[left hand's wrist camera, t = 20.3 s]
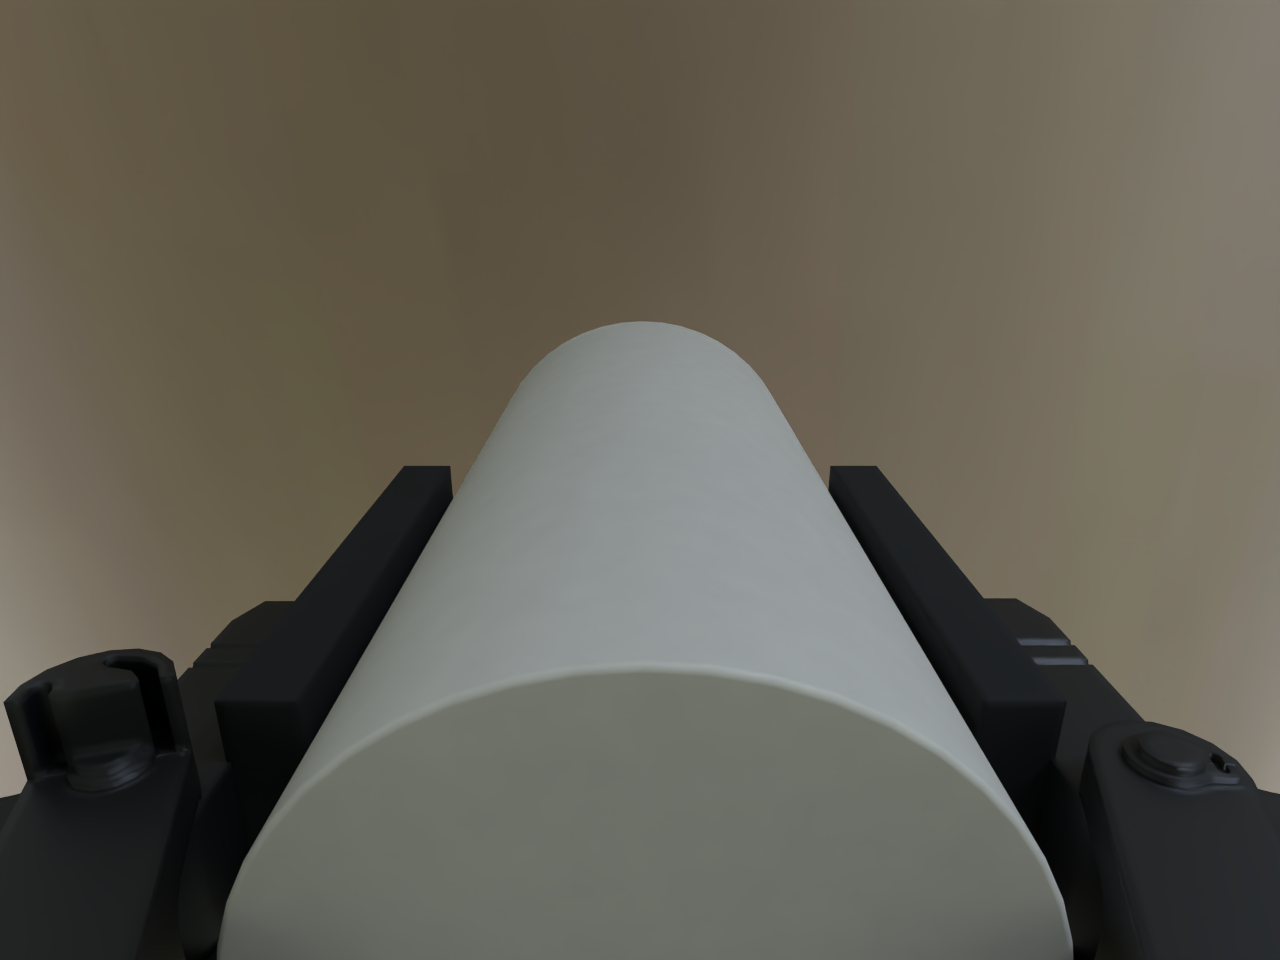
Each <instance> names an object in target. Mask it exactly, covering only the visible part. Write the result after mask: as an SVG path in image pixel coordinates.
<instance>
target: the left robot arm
mask: <svg viewBox="0 0 1280 960" xmlns="http://www.w3.org/2000/svg"><path fill="white" fill-rule="evenodd" d="M829 493H830V495H831V496H832V498H833V500H834V502H835V503H836V505H837V507H838V508H839V510H840V512H841V513H842V515H843V517H844V518H845V520H846V522H847V523H848V525H849V527H850V529H851V530H852V532H853V534H854V535H855V537H856V539H857V540H858V542H859V544H860V545H861V547H862V549H863V551H864V552H865V554H866V556H867V557H868V559H869V561H870V562H871V564H872V566H873V567H874V569H875V571H876V572H877V574H878V576H879V578H880V579H881V581H882V583H883V584H884V586H885V588H886V589H887V591H888V593H889V594H890V596H891V598H892V600H893V601H894V603H895V605H896V606H897V608H898V610H899V611H900V613H901V615H902V616H903V618H904V620H905V621H906V623H907V625H908V627H909V628H910V630H911V632H912V633H913V635H914V637H915V638H916V640H917V642H918V643H919V645H920V647H921V648H922V650H923V652H924V654H925V655H926V657H927V659H928V660H929V662H930V664H931V665H932V667H933V669H934V670H935V672H936V674H937V676H938V677H939V679H940V681H941V682H942V684H943V686H944V687H945V689H946V691H947V692H948V694H949V696H950V697H951V699H952V701H953V703H954V704H955V706H956V708H957V709H958V711H959V713H960V714H961V716H962V718H963V719H964V721H965V723H966V725H967V726H968V728H969V730H970V731H971V733H972V735H973V736H974V738H975V740H976V741H977V743H978V745H979V746H980V748H981V750H982V752H983V753H984V755H985V757H986V758H987V760H988V762H989V763H990V765H991V767H992V768H993V770H994V772H995V773H996V775H997V777H998V779H999V780H1000V782H1001V784H1002V785H1003V787H1004V789H1005V790H1006V792H1007V794H1008V795H1009V797H1010V799H1011V801H1012V802H1013V804H1014V806H1015V807H1016V809H1017V811H1018V812H1019V814H1020V816H1021V817H1022V819H1023V821H1024V822H1025V824H1026V826H1027V828H1028V829H1029V831H1030V833H1031V834H1032V836H1033V838H1034V839H1035V841H1036V843H1037V844H1038V846H1039V848H1040V850H1041V851H1042V853H1043V855H1044V856H1045V858H1046V860H1047V863H1048V865H1049V867H1050V870H1051V872H1052V874H1053V877H1054V879H1055V881H1056V884H1057V886H1058V888H1059V891H1060V893H1061V896H1062V898H1063V901H1064V905H1065V910H1066V914H1067V919H1068V923H1069V928H1070V932H1071V937H1072V941H1073V960H1280V794H1277V793H1272V792H1268V791H1264V790H1260V789H1257V787H1256V785H1255V783H1254V781H1253V779H1252V778H1251V777H1250V776H1249V774H1248V773H1247V772H1246V771H1245V770H1244V768H1243V767H1242V766H1241V765H1240V764H1239V762H1238V761H1237V760H1236V759H1234V758H1233V757H1231V756H1230V755H1228V754H1227V753H1225V752H1224V751H1223V750H1221V749H1220V748H1218V747H1217V746H1215V745H1214V744H1212V743H1210V742H1208V741H1206V740H1204V739H1202V738H1199V737H1197V736H1195V735H1193V734H1190V733H1188V732H1186V731H1184V730H1181V729H1177V728H1173V727H1169V726H1166V725H1162V724H1158V723H1154V722H1146V721H1144V720H1143V719H1142V718H1141V717H1140V715H1139V714H1138V713H1137V712H1136V711H1135V710H1134V709H1133V708H1132V707H1131V706H1130V705H1129V704H1128V702H1127V701H1126V700H1125V699H1124V698H1123V697H1122V696H1121V695H1120V694H1119V693H1118V692H1117V691H1116V689H1115V688H1114V687H1113V686H1112V685H1111V684H1110V683H1109V682H1108V681H1107V680H1106V679H1105V678H1104V676H1103V675H1102V674H1101V673H1100V672H1099V671H1098V670H1097V669H1096V668H1095V667H1094V666H1093V665H1089V664H1088V659H1087V658H1086V657H1085V656H1084V655H1083V654H1082V653H1081V652H1080V650H1079V649H1078V648H1077V647H1076V646H1075V645H1071V643H1070V640H1069V639H1068V637H1067V636H1066V635H1065V634H1064V633H1063V632H1062V631H1061V630H1060V629H1059V628H1058V627H1057V626H1056V624H1055V623H1054V622H1053V621H1052V620H1051V619H1050V618H1049V617H1047V616H1045V615H1044V614H1042V613H1040V612H1038V611H1037V610H1035V609H1033V608H1031V607H1030V606H1028V605H1026V604H1025V603H1023V602H1021V601H1019V600H1018V599H984V598H983V597H982V596H981V594H980V593H979V592H978V591H977V590H976V588H975V587H974V586H973V585H972V583H971V582H970V581H969V580H968V578H967V577H966V576H965V575H964V574H963V572H962V571H961V570H960V569H959V567H958V566H957V565H956V564H955V562H954V561H953V560H952V559H951V557H950V556H949V555H948V554H947V553H946V551H945V550H944V549H943V548H942V546H941V545H940V544H939V543H938V541H937V540H936V539H935V538H934V536H933V535H932V534H931V533H930V532H929V530H928V529H927V528H926V527H925V525H924V524H923V523H922V522H921V520H920V519H919V518H918V517H917V516H916V514H915V513H914V512H913V511H912V509H911V508H910V507H909V506H908V504H907V503H906V502H905V501H904V499H903V498H902V497H901V496H900V495H899V493H898V492H897V491H896V490H895V488H894V487H893V486H892V485H891V483H890V482H889V481H888V480H887V478H886V477H885V476H884V475H883V474H882V472H881V471H880V470H879V469H878V467H877V466H830V478H829ZM452 500H453V494H452V482H451V470H450V466H404V467H403V468H402V470H401V471H400V472H399V473H398V474H397V476H396V477H395V478H394V479H393V481H392V482H391V483H390V484H389V486H388V487H387V488H386V489H385V490H384V492H383V493H382V494H381V495H380V497H379V498H378V499H377V500H376V502H375V503H374V504H373V505H372V507H371V508H370V509H369V510H368V511H367V513H366V514H365V515H364V516H363V518H362V519H361V520H360V521H359V523H358V524H357V525H356V526H355V528H354V529H353V530H352V531H351V532H350V534H349V535H348V536H347V537H346V539H345V540H344V541H343V542H342V544H341V545H340V546H339V547H338V548H337V550H336V551H335V552H334V553H333V555H332V556H331V557H330V558H329V560H328V561H327V562H326V563H325V565H324V566H323V567H322V568H321V569H320V571H319V572H318V573H317V574H316V576H315V577H314V578H313V579H312V581H311V582H310V583H309V584H308V586H307V587H306V588H305V589H304V590H303V592H302V593H301V594H300V595H299V597H298V598H297V599H296V600H295V601H265V602H263V603H261V604H260V605H258V606H256V607H255V608H253V609H251V610H249V611H248V612H246V613H244V614H243V615H241V616H239V617H237V618H236V619H234V620H232V621H231V622H230V623H229V624H228V625H227V627H226V628H225V629H224V630H223V631H222V632H221V633H220V634H219V635H218V636H217V638H216V639H215V640H214V641H213V642H212V643H211V648H206V650H205V651H204V652H203V653H202V654H201V655H200V656H199V657H198V658H197V659H196V660H195V662H194V663H193V668H188V669H187V670H186V671H185V672H184V674H183V675H182V676H181V677H180V678H179V679H178V680H177V676H176V672H175V667H174V663H173V661H172V660H170V659H169V658H168V657H166V656H165V655H163V654H162V653H161V652H155V651H149V650H143V649H125V650H110V651H105V652H101V653H96V654H92V655H88V656H83V657H79V658H76V659H73V660H71V661H68V662H66V663H63V664H60V665H58V666H55V667H53V668H50V669H47V670H45V671H44V672H42V673H40V674H39V675H37V676H35V677H34V678H32V679H30V680H29V681H27V682H25V683H23V684H22V685H20V686H19V687H18V688H17V689H16V690H15V691H14V692H13V693H12V694H11V695H10V696H9V697H8V698H7V699H6V700H5V701H4V706H5V709H6V712H7V715H8V719H9V722H10V725H11V728H12V732H13V735H14V738H15V741H16V744H17V748H18V751H19V754H20V757H21V761H22V764H23V767H24V770H25V773H26V777H27V780H28V781H27V783H26V784H25V786H24V788H23V790H22V792H21V793H20V794H16V795H13V796H8V797H3V798H0V960H217V944H218V939H219V935H220V930H221V925H222V920H223V916H224V911H225V906H226V902H227V900H228V897H229V895H230V892H231V890H232V887H233V885H234V883H235V880H236V878H237V875H238V873H239V870H240V868H241V866H242V863H243V861H244V859H245V857H246V856H247V854H248V852H249V850H250V849H251V847H252V845H253V844H254V842H255V840H256V838H257V837H258V835H259V833H260V831H261V830H262V828H263V826H264V825H265V823H266V821H267V819H268V818H269V816H270V814H271V812H272V811H273V809H274V807H275V806H276V804H277V802H278V800H279V799H280V797H281V795H282V793H283V792H284V790H285V788H286V787H287V785H288V783H289V781H290V780H291V778H292V776H293V774H294V773H295V771H296V769H297V768H298V766H299V764H300V762H301V761H302V759H303V757H304V755H305V754H306V752H307V750H308V749H309V747H310V745H311V743H312V742H313V740H314V738H315V736H316V735H317V733H318V731H319V730H320V728H321V726H322V724H323V723H324V721H325V719H326V717H327V716H328V714H329V712H330V711H331V709H332V707H333V705H334V704H335V702H336V700H337V698H338V697H339V695H340V693H341V692H342V690H343V688H344V686H345V685H346V683H347V681H348V679H349V678H350V676H351V674H352V673H353V671H354V669H355V667H356V666H357V664H358V662H359V660H360V659H361V657H362V655H363V654H364V652H365V650H366V648H367V647H368V645H369V643H370V641H371V640H372V638H373V636H374V635H375V633H376V631H377V629H378V628H379V626H380V624H381V622H382V621H383V619H384V617H385V616H386V614H387V612H388V610H389V609H390V607H391V605H392V603H393V602H394V600H395V598H396V597H397V595H398V593H399V591H400V590H401V588H402V586H403V584H404V583H405V581H406V579H407V578H408V576H409V574H410V572H411V571H412V569H413V567H414V565H415V564H416V562H417V560H418V559H419V557H420V555H421V553H422V552H423V550H424V548H425V546H426V545H427V543H428V541H429V540H430V538H431V536H432V534H433V533H434V531H435V529H436V527H437V526H438V524H439V522H440V521H441V519H442V517H443V515H444V514H445V512H446V510H447V508H448V507H449V505H450V503H451V502H452Z"/></svg>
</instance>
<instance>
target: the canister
mask: <svg viewBox="0 0 1280 960" xmlns="http://www.w3.org/2000/svg"><path fill="white" fill-rule="evenodd" d="M217 960H1073V941H1072V937H1071V932H1070V928H1069V923H1068V919H1067V914H1066V910H1065V905H1064V901H1063V898H1062V896H1061V893H1060V891H1059V888H1058V886H1057V884H1056V881H1055V879H1054V877H1053V874H1052V872H1051V870H1050V867H1049V865H1048V863H1047V860H1046V858H1045V856H1044V855H1043V853H1042V851H1041V850H1040V848H1039V846H1038V844H1037V843H1036V841H1035V839H1034V838H1033V836H1032V834H1031V833H1030V831H1029V829H1028V828H1027V826H1026V824H1025V822H1024V821H1023V819H1022V817H1021V816H1020V814H1019V812H1018V811H1017V809H1016V807H1015V806H1014V804H1013V802H1012V801H1011V799H1010V797H1009V795H1008V794H1007V792H1006V790H1005V789H1004V787H1003V785H1002V784H1001V782H1000V780H999V779H998V777H997V775H996V773H995V772H994V770H993V768H992V767H991V765H990V763H989V762H988V760H987V758H986V757H985V755H984V753H983V752H982V750H981V748H980V746H979V745H978V743H977V741H976V740H975V738H974V736H973V735H972V733H971V731H970V730H969V728H968V726H967V725H966V723H965V721H964V719H963V718H962V716H961V714H960V713H959V711H958V709H957V708H956V706H955V704H954V703H953V701H952V699H951V697H950V696H949V694H948V692H947V691H946V689H945V687H944V686H943V684H942V682H941V681H940V679H939V677H938V676H937V674H936V672H935V670H934V669H933V667H932V665H931V664H930V662H929V660H928V659H927V657H926V655H925V654H924V652H923V650H922V648H921V647H920V645H919V643H918V642H917V640H916V638H915V637H914V635H913V633H912V632H911V630H910V628H909V627H908V625H907V623H906V621H905V620H904V618H903V616H902V615H901V613H900V611H899V610H898V608H897V606H896V605H895V603H894V601H893V600H892V598H891V596H890V594H889V593H888V591H887V589H886V588H885V586H884V584H883V583H882V581H881V579H880V578H879V576H878V574H877V572H876V571H875V569H874V567H873V566H872V564H871V562H870V561H869V559H868V557H867V556H866V554H865V552H864V551H863V549H862V547H861V545H860V544H859V542H858V540H857V539H856V537H855V535H854V534H853V532H852V530H851V529H850V527H849V525H848V523H847V522H846V520H845V518H844V517H843V515H842V513H841V512H840V510H839V508H838V507H837V505H836V503H835V502H834V500H833V498H832V496H831V495H830V493H829V491H828V490H827V488H826V486H825V485H824V483H823V481H822V480H821V478H820V476H819V475H818V473H817V471H816V469H815V468H814V466H813V464H812V463H811V461H810V459H809V458H808V456H807V454H806V453H805V451H804V449H803V447H802V446H801V444H800V442H799V441H798V439H797V437H796V436H795V434H794V432H793V431H792V429H791V427H790V426H789V424H788V422H787V420H786V419H785V417H784V415H783V414H782V412H781V410H780V409H779V407H778V405H777V404H776V402H775V400H774V398H773V397H772V395H771V394H770V392H769V390H768V389H767V387H766V386H765V384H764V383H763V381H762V380H761V378H760V377H759V376H758V375H757V374H756V373H755V371H754V370H753V369H752V368H751V367H750V366H749V365H748V364H747V363H746V362H745V361H744V360H743V359H742V358H740V357H739V356H738V355H737V354H736V353H735V352H733V351H732V350H730V349H729V348H727V347H726V346H724V345H723V344H721V343H720V342H718V341H716V340H714V339H712V338H710V337H708V336H706V335H704V334H702V333H700V332H697V331H694V330H691V329H688V328H685V327H682V326H677V325H672V324H667V323H662V322H645V321H638V322H624V323H617V324H613V325H608V326H603V327H599V328H597V329H594V330H591V331H588V332H585V333H582V334H580V335H578V336H576V337H574V338H572V339H570V340H568V341H566V342H565V343H563V344H562V345H560V346H559V347H557V348H556V349H554V350H553V351H551V352H550V353H549V354H547V355H546V356H545V357H544V358H543V359H542V360H541V361H540V362H539V363H538V364H536V365H535V366H534V367H533V369H532V370H531V371H530V372H529V373H528V375H527V376H526V377H525V378H524V379H523V381H522V382H521V383H520V385H519V387H518V388H517V390H516V391H515V393H514V395H513V396H512V398H511V400H510V401H509V403H508V405H507V407H506V408H505V410H504V412H503V413H502V415H501V417H500V419H499V420H498V422H497V424H496V426H495V427H494V429H493V431H492V432H491V434H490V436H489V438H488V439H487V441H486V443H485V445H484V446H483V448H482V450H481V451H480V453H479V455H478V457H477V458H476V460H475V462H474V464H473V465H472V467H471V469H470V470H469V472H468V474H467V476H466V477H465V479H464V481H463V483H462V484H461V486H460V488H459V489H458V491H457V493H456V495H455V496H454V498H453V500H452V502H451V503H450V505H449V507H448V508H447V510H446V512H445V514H444V515H443V517H442V519H441V521H440V522H439V524H438V526H437V527H436V529H435V531H434V533H433V534H432V536H431V538H430V540H429V541H428V543H427V545H426V546H425V548H424V550H423V552H422V553H421V555H420V557H419V559H418V560H417V562H416V564H415V565H414V567H413V569H412V571H411V572H410V574H409V576H408V578H407V579H406V581H405V583H404V584H403V586H402V588H401V590H400V591H399V593H398V595H397V597H396V598H395V600H394V602H393V603H392V605H391V607H390V609H389V610H388V612H387V614H386V616H385V617H384V619H383V621H382V622H381V624H380V626H379V628H378V629H377V631H376V633H375V635H374V636H373V638H372V640H371V641H370V643H369V645H368V647H367V648H366V650H365V652H364V654H363V655H362V657H361V659H360V660H359V662H358V664H357V666H356V667H355V669H354V671H353V673H352V674H351V676H350V678H349V679H348V681H347V683H346V685H345V686H344V688H343V690H342V692H341V693H340V695H339V697H338V698H337V700H336V702H335V704H334V705H333V707H332V709H331V711H330V712H329V714H328V716H327V717H326V719H325V721H324V723H323V724H322V726H321V728H320V730H319V731H318V733H317V735H316V736H315V738H314V740H313V742H312V743H311V745H310V747H309V749H308V750H307V752H306V754H305V755H304V757H303V759H302V761H301V762H300V764H299V766H298V768H297V769H296V771H295V773H294V774H293V776H292V778H291V780H290V781H289V783H288V785H287V787H286V788H285V790H284V792H283V793H282V795H281V797H280V799H279V800H278V802H277V804H276V806H275V807H274V809H273V811H272V812H271V814H270V816H269V818H268V819H267V821H266V823H265V825H264V826H263V828H262V830H261V831H260V833H259V835H258V837H257V838H256V840H255V842H254V844H253V845H252V847H251V849H250V850H249V852H248V854H247V856H246V857H245V859H244V861H243V863H242V866H241V868H240V870H239V873H238V875H237V878H236V880H235V883H234V885H233V887H232V890H231V892H230V895H229V897H228V900H227V902H226V906H225V911H224V916H223V920H222V925H221V930H220V935H219V939H218V944H217Z"/></svg>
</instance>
